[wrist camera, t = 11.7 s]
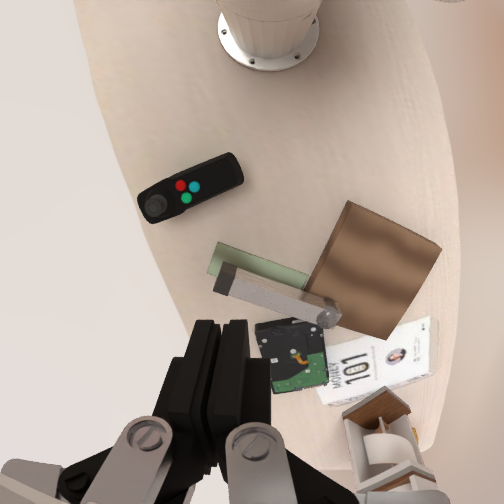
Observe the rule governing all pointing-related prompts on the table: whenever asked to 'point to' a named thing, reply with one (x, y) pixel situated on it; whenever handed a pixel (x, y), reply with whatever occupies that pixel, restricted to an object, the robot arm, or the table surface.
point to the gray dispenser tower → (385, 446)
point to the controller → (190, 188)
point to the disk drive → (293, 354)
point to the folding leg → (277, 296)
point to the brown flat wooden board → (355, 269)
